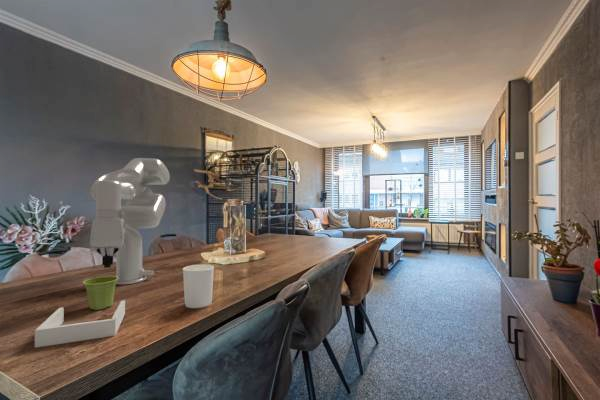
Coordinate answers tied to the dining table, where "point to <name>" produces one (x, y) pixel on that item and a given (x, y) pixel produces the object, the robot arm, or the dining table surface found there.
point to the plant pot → (100, 291)
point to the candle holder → (198, 285)
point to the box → (76, 328)
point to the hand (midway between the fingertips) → (107, 266)
